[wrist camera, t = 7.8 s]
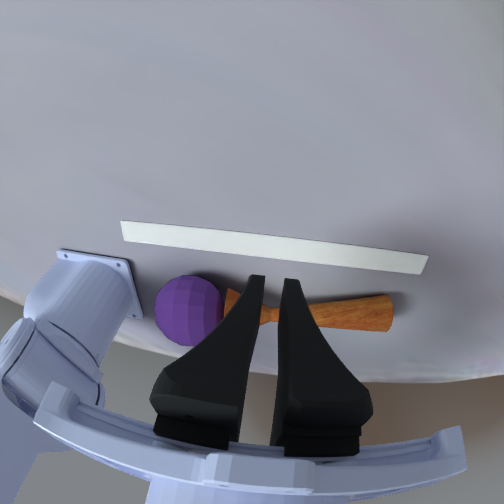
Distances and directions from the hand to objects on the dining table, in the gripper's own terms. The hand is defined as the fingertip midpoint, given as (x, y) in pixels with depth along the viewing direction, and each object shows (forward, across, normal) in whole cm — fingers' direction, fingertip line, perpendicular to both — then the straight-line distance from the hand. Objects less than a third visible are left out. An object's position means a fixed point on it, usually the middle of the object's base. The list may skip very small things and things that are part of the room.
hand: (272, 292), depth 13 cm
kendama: (+9, -1, +8) cm, 12 cm away
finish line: (+8, 0, +3) cm, 9 cm away
